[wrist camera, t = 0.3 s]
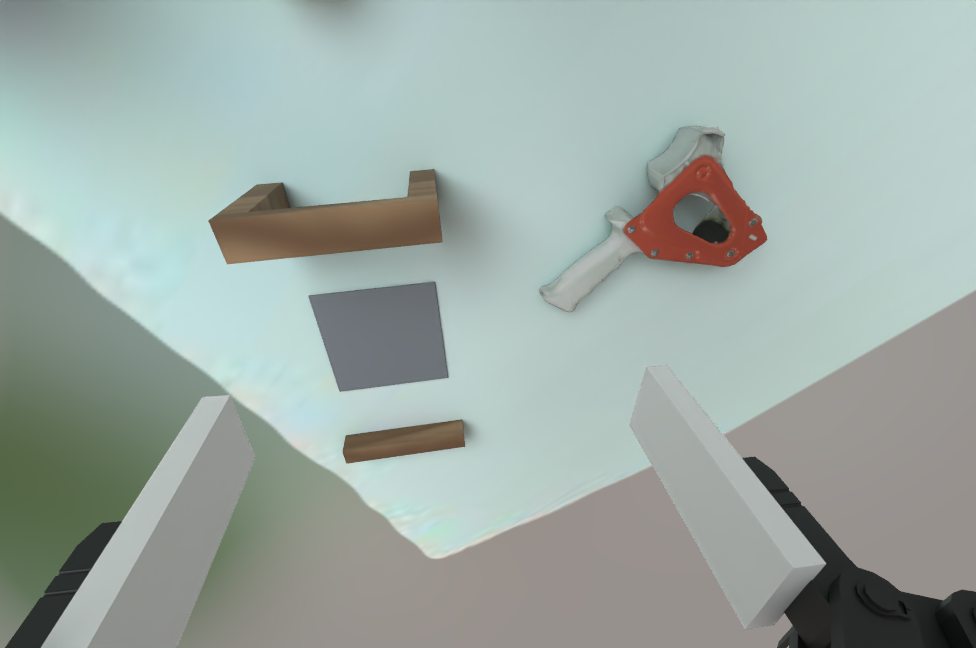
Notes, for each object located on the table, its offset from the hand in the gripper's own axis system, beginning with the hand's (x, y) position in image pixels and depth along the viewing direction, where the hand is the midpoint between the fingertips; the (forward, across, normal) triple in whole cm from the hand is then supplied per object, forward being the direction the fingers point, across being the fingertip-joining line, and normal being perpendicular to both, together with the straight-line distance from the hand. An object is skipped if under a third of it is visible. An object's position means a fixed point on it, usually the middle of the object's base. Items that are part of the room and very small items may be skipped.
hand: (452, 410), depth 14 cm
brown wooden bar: (+27, -5, -29) cm, 40 cm away
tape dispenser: (+28, +20, -3) cm, 34 cm away
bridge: (+27, -7, 0) cm, 28 cm away
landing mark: (+27, -6, -15) cm, 31 cm away
